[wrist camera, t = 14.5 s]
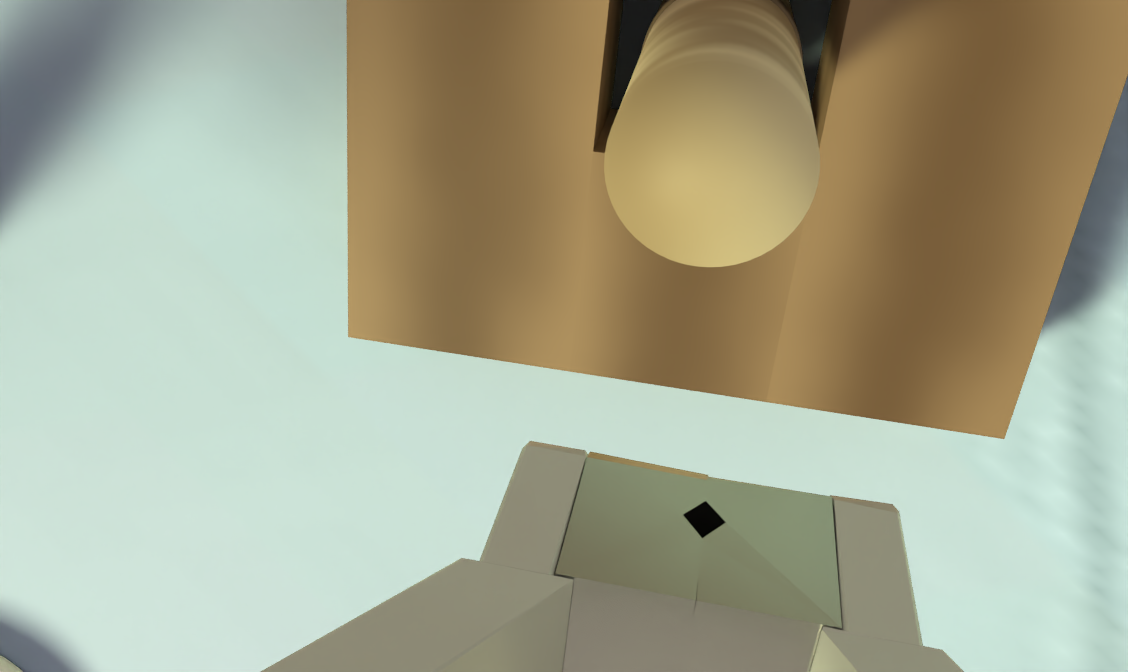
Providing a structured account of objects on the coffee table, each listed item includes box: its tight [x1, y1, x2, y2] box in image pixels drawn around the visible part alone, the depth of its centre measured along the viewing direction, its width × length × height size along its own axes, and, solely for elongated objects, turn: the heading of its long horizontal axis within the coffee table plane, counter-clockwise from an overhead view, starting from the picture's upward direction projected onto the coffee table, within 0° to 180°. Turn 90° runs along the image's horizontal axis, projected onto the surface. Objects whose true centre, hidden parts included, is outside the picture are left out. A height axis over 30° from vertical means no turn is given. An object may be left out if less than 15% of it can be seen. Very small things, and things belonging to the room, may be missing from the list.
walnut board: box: [347, 0, 1128, 439], centre depth 27 cm, size 18×18×4 cm
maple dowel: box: [604, 0, 820, 267], centre depth 23 cm, size 4×4×12 cm
